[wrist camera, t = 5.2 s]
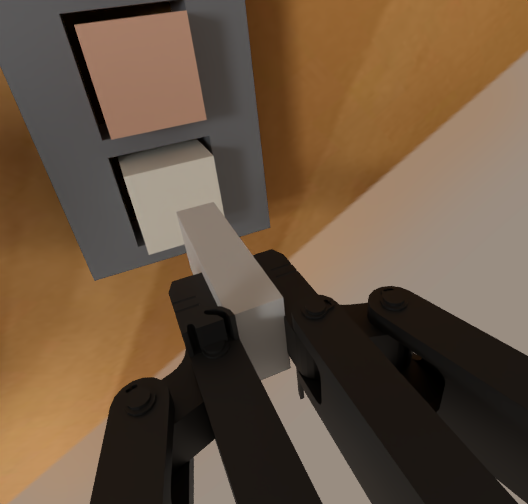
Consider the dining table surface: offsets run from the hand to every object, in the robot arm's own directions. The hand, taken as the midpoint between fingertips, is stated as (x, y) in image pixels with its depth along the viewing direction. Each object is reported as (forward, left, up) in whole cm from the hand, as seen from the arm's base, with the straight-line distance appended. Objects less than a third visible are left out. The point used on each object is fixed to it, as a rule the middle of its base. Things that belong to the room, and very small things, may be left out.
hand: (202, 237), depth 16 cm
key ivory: (0, 0, -7) cm, 7 cm away
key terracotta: (0, +6, -7) cm, 9 cm away
